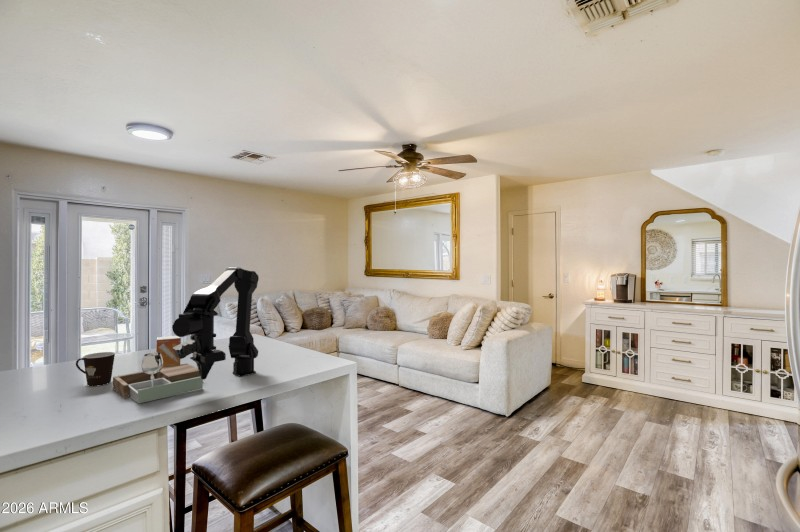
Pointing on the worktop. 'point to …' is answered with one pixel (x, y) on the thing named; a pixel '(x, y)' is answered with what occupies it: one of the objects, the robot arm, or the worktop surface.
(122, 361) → the worktop surface
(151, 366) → the wineglass
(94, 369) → the coffee mug
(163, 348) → the small box
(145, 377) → the divided wooden organizer
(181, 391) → the tray
